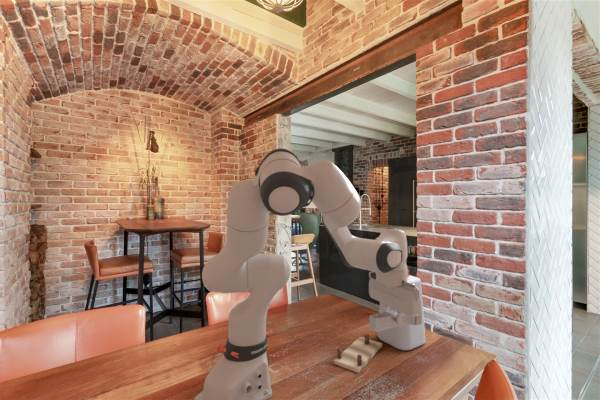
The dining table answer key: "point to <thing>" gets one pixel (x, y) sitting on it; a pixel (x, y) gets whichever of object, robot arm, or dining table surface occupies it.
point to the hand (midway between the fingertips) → (393, 319)
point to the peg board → (357, 354)
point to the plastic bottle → (405, 327)
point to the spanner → (392, 320)
